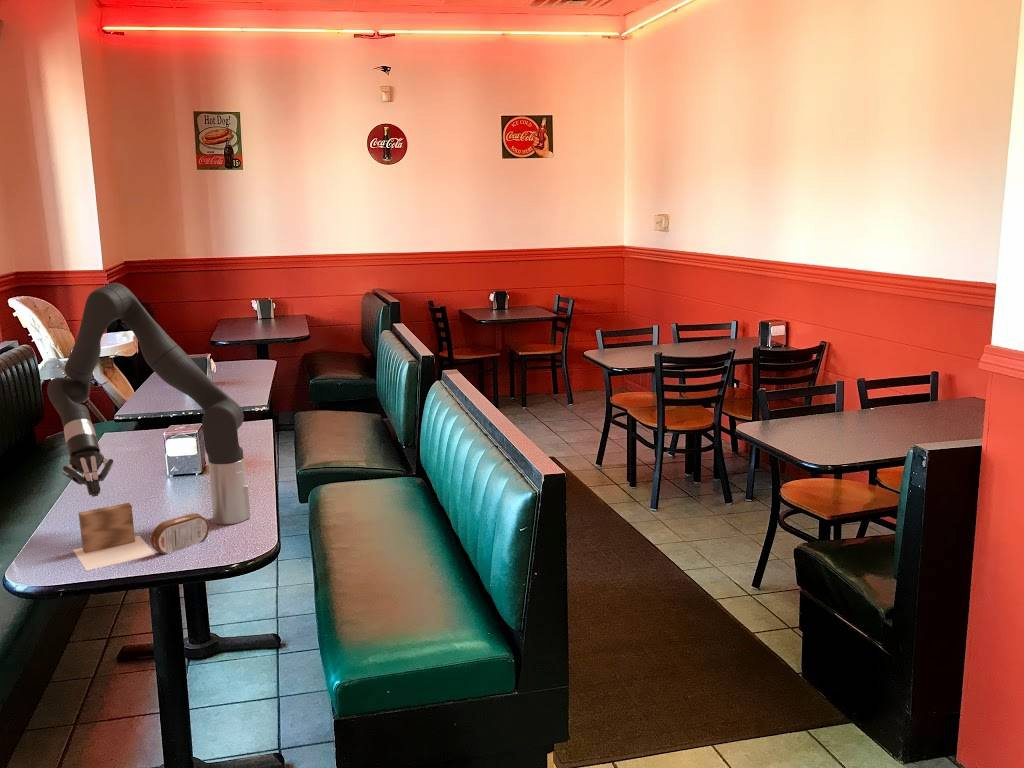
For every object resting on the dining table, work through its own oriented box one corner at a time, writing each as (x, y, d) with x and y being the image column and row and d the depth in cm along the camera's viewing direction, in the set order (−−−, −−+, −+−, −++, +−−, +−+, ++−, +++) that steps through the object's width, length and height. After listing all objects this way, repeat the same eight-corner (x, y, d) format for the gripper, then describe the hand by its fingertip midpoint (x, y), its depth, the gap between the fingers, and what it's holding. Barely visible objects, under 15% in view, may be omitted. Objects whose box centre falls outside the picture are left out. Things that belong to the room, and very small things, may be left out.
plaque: (132, 538, 232) (128, 502, 230) (135, 542, 230) (131, 505, 228) (82, 549, 225) (78, 512, 223) (84, 553, 223) (80, 515, 221)
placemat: (139, 537, 235) (139, 535, 234) (155, 556, 222) (155, 554, 222) (73, 551, 225) (72, 549, 225) (86, 572, 213) (86, 570, 213)
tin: (205, 539, 233) (202, 508, 232) (212, 542, 231) (209, 511, 230) (151, 557, 222) (148, 525, 220) (158, 560, 220) (155, 528, 218)
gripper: (55, 436, 234) (68, 492, 227) (108, 428, 242) (123, 483, 235) (53, 451, 240) (67, 506, 232) (106, 443, 247) (120, 497, 240)
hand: (95, 494), depth 234 cm, fingers closed
